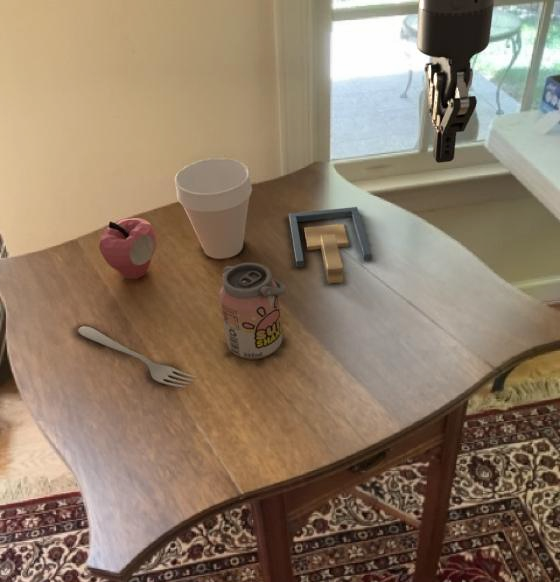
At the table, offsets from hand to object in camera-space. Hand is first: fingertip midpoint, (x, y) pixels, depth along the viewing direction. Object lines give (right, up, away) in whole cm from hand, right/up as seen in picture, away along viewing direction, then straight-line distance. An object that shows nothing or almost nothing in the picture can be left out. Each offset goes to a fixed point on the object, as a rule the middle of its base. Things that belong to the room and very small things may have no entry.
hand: (442, 159), depth 79 cm
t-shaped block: (-11, -6, +32) cm, 34 cm away
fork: (-41, -24, +17) cm, 50 cm away
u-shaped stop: (-11, -2, +36) cm, 37 cm away
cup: (-29, -4, +36) cm, 46 cm away
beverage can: (-23, -21, +17) cm, 36 cm away
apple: (-44, -9, +32) cm, 55 cm away
